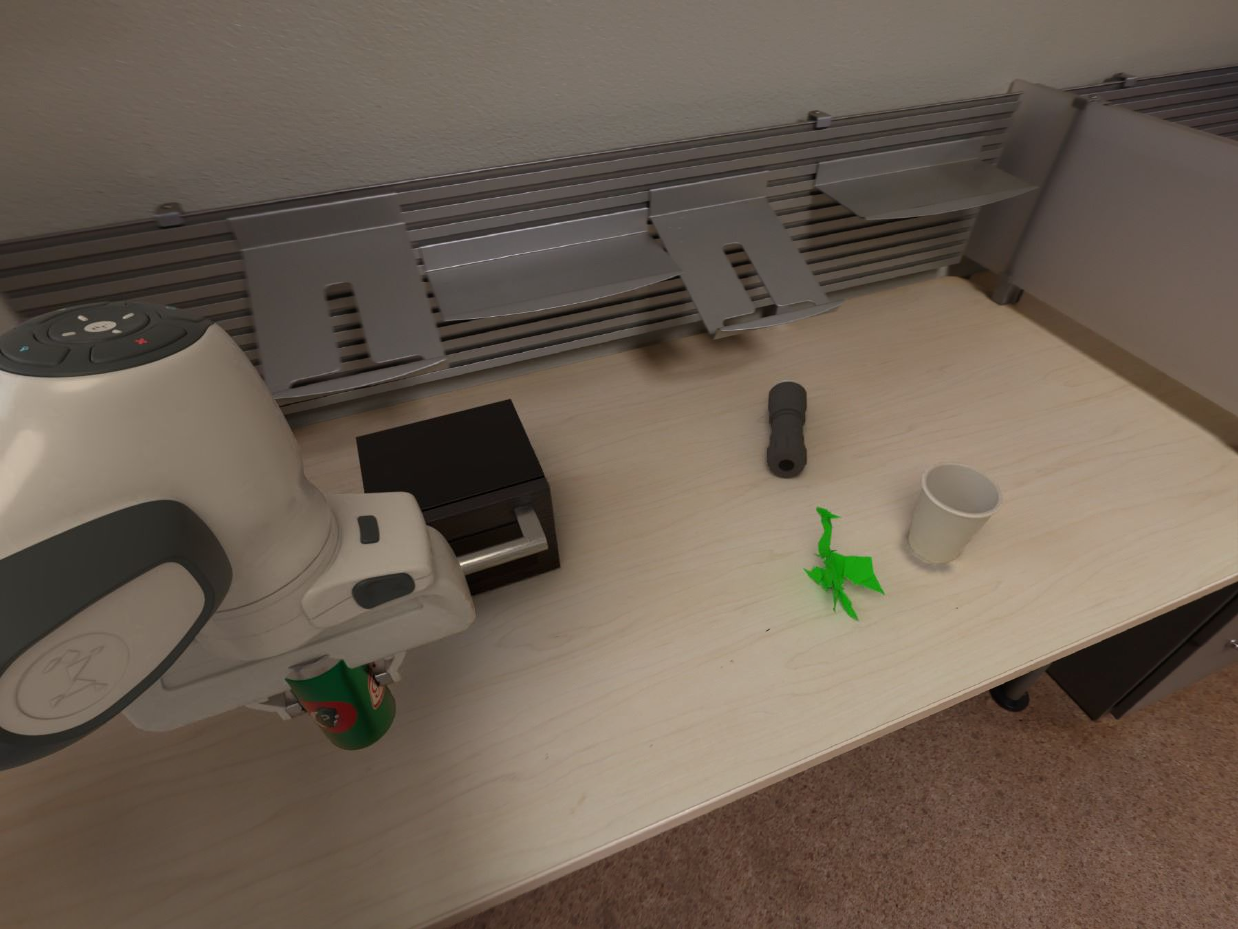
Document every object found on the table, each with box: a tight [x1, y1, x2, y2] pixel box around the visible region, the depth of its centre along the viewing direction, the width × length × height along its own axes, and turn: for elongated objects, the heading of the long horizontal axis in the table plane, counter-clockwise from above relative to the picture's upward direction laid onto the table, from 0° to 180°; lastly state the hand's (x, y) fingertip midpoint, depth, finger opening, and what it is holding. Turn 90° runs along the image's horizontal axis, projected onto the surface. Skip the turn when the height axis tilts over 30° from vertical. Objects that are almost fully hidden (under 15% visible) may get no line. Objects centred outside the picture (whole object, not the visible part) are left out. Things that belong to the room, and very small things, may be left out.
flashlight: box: [765, 379, 808, 479], centre depth 90 cm, size 15×5×5 cm, turn 169°
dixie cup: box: [907, 461, 1004, 564], centre depth 74 cm, size 8×8×10 cm
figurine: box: [802, 506, 886, 622], centre depth 71 cm, size 6×12×9 cm, turn 21°
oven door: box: [422, 476, 562, 597], centre depth 68 cm, size 7×18×14 cm, turn 112°
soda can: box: [285, 654, 397, 752], centre depth 44 cm, size 5×5×12 cm
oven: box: [355, 398, 546, 512], centre depth 75 cm, size 14×18×14 cm
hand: (345, 691), depth 45 cm, fingers closed on soda can, 5 cm apart
